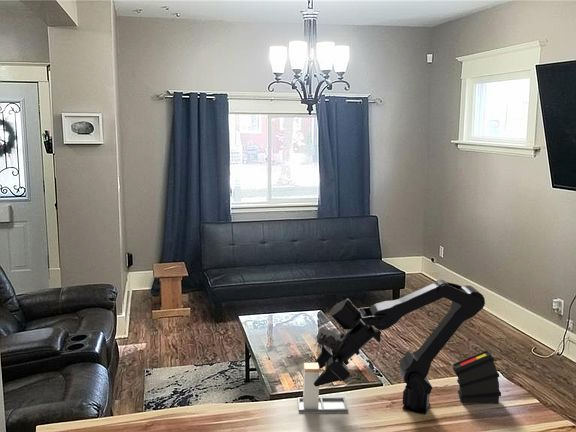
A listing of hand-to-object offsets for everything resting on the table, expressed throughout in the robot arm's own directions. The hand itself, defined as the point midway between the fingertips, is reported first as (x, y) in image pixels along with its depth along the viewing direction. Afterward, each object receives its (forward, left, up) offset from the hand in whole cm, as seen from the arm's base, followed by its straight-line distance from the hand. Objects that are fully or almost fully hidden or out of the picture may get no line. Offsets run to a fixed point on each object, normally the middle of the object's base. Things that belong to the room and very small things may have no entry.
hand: (313, 377), depth 161 cm
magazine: (-40, -26, -9) cm, 49 cm away
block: (0, 0, -8) cm, 9 cm away
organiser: (-2, -1, -9) cm, 10 cm away
